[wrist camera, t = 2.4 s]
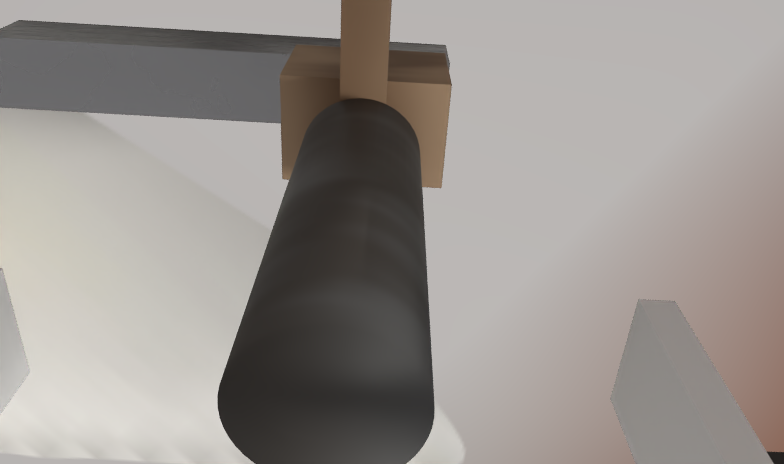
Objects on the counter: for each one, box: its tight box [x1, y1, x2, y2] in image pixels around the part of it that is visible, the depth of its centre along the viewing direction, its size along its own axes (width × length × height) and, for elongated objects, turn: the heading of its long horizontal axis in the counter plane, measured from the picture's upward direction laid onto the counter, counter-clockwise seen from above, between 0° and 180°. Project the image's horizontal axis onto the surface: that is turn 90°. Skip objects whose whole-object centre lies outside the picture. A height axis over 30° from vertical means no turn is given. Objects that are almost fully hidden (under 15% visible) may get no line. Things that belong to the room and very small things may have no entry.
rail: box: [0, 20, 450, 123], centre depth 30 cm, size 19×3×3 cm, turn 87°
